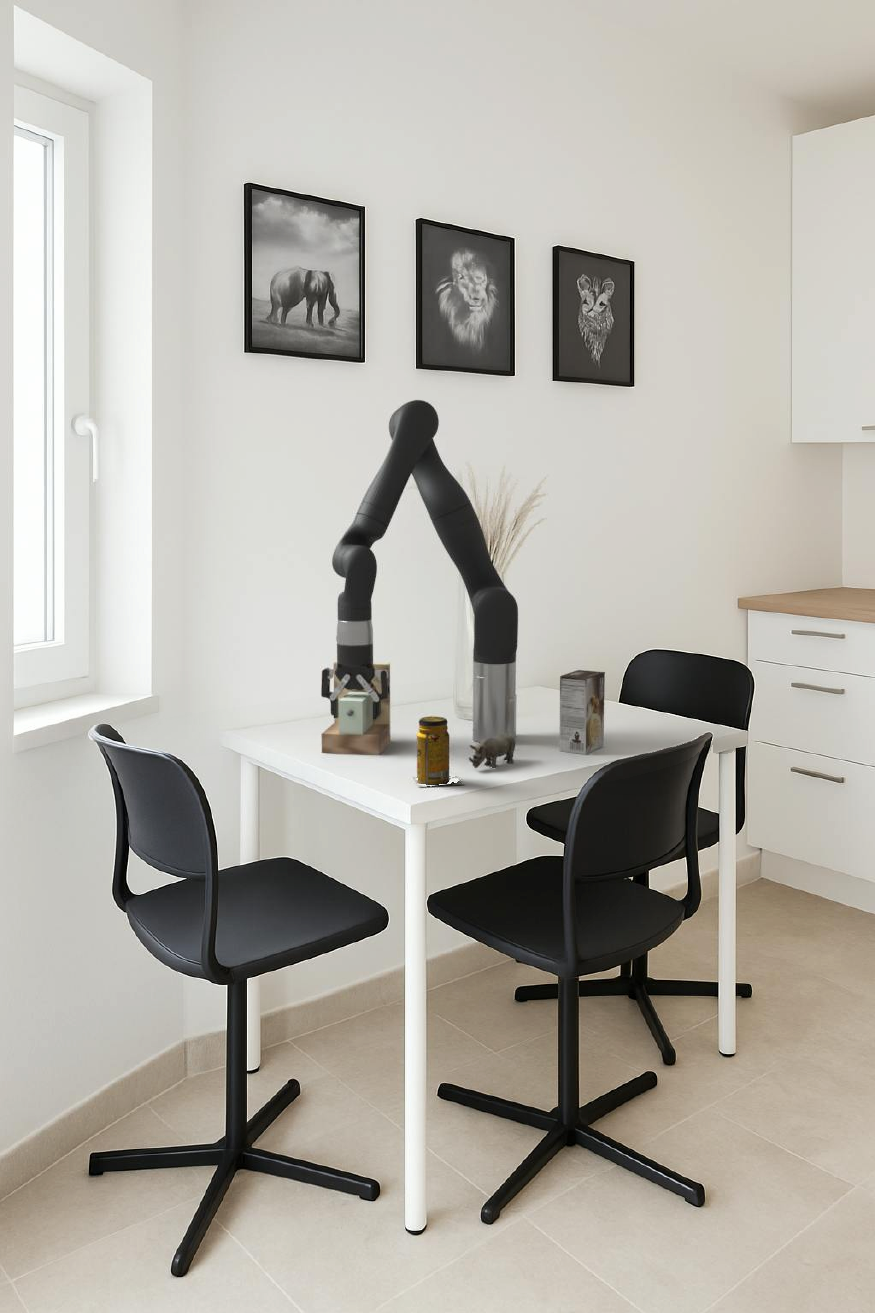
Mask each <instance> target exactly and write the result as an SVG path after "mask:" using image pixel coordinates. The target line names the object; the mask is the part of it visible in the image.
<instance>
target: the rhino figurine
mask: <svg viewBox="0 0 875 1313" xmlns="http://www.w3.org/2000/svg"><path fill="white" fill-rule="evenodd" d="M469 747H470V748H471V749H472V750H474V751H475V752H474V754H473V755H472V758H471V757H469V758H468V760H469V762H471V764H472V766H473V767H474V768H475V769H476V768H479V766H481V765H482V763H483V762H484V761H485V759H486V761H485V762H484V764H483V766H485V765H486V767H489V766H490V767H492V768H495V769H497V768H498V765H497V758H499V757H502V756H504V758H503V759H502V760H503V761H505V760H507V761H506V764H508V765H513V764H514V763H515V760H514V751H516V750H515V748H516V738H515V739H514V738H513V737H512V736H511V735H509V734H508V733H505V734H500V735H499V736H497V737H496V738H491V737H487V738H485V739H484V740H483V741H482V742H479V744H477V746H474V745H470V744H469ZM490 767H489V768H490ZM496 767H497V768H496ZM492 768H491V769H492Z"/></svg>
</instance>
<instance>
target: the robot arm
mask: <svg viewBox="0 0 875 1313" xmlns="http://www.w3.org/2000/svg"><path fill="white" fill-rule="evenodd" d="M439 423H440V420H439V415H438V413H437V410H436V409H435V407H434V406H433V405H432V404H431V403H429V401H428V402H427V401H425V400H423V399H422V400H421V399H414V400H411V401H407V402H406V403H404V404H403V405H401V406H400V407H399V408H397V409H396V410H395V411H394V412H393V413H392V414H391V416H390V418H389V422H388V431H389V436H390V438H391V445H390V447H389V450H388V452H387V454H386V457H385V459H383V460H384V461H383V463H382V465H380V468H379V469H378V471H377V473H376V475H375V476H374V478H373V480H372V481H371V484H370V485H369V487H368V488H367V490H366V492H365V494H364V496H363V498H362V500H361V503H360V505H359V507H358V509H357V512H356V514H355V516H354V519H353V522H352V523H351V524H350V526H349V527H348V528H347V529H346V531H345V532H344V534H343V535H342V537H341V539H339V542H338V543H337V545H336V546H335V549H334V551H333V554H332V559H331V564H332V565H331V566H332V568H333V571H334V573H336V575H338V576H339V577H340V578H341V577H342V578H345V581H344V590H343V591H342V592H341V593H339V594H338V597H337V625H336V635H335V636H336V637H335V639H336V640H335V641H336V662H337V668H336V669H334V668H330V667H326V668H324V669H322V670H321V688H320V689H321V690H320V692H321V693H320V696H321V697H322V698H326V699H328V700H329V701H330V715H331V716H333V719H334V718H338V717H339V706H338V700H339V699H338V696H339V695H340V693H341V692H342V691H343V690H344V688H346V689H347V690H353V689H356V690H363V689H365V690H366V691H367V693H368V694H370V696H371V697H372V699H373V700H374V702H373V719H377V718H378V717H379V716H380V714H381V700H383V699H387V698H388V697H389V696H390V697H391V687H390V688H389V671H388V670H387V669H384V670H375V669H374V667H373V663H374V629H373V622H372V619H373V618H372V617H373V616H372V608H373V607H372V599H373V598H372V596H373V593H374V591H375V590H374V589H375V585H376V584H375V583H376V579H377V575H378V574H377V573H378V564H377V558H376V555H375V553H374V551H372V549H371V548H372V546H373V545H374V544H375V542H377V541H379V540H381V539H382V538H383V537H384V536H385V534H386V533H387V530H388V527H389V526H390V523H391V522H392V519H393V517H394V514H395V512H396V509H397V507H398V505H399V503H400V499H401V497H402V495H403V493H404V490H405V488H406V486H407V483H408V481H409V479H410V477H411V475H412V477H413V479H414V482H415V484H416V487H417V490H418V492H419V495H420V497H421V500H422V501H423V504H424V506H425V509H426V511H427V513H428V515H429V516H428V517H429V519H430V521H431V523H432V525H433V527H434V529H435V531H436V534H437V536H438V538H439V540H440V541H441V544H442V546H443V547H444V549H445V551H446V553H447V555H448V556H449V558H450V559H451V561H452V562H453V564H454V566H455V567H456V568H457V571H458V572H459V574H460V576H461V578H462V580H463V584H464V586H465V589H466V592H467V594H468V598H469V601H470V604H471V608H472V611H473V615H474V616H473V618H474V619H473V620H474V623H473V624H474V625H473V626H474V631H473V632H474V633H473V634H474V636H473V650H472V651H473V652H472V653H473V654H472V655H473V656H472V659H473V660H472V664H473V666H472V667H473V668H472V670H473V671H472V674H473V675H472V739H473V741H476V742H479V743H481V742H482V741H483V740H484V739H485V738H487V737H491V738H496V737H497V736H499V735H500V734H505V733H508V734H509V735H511V736H512V737H513V738H514V739H515V740H516V737H517V694H516V692H517V689H516V686H517V683H516V682H517V677H516V675H517V650H518V639H519V638H518V634H519V608H518V603H517V600H516V598H515V597H514V596H513V594H512V593H511V592H510V591H509V590H508V588H507V586H506V585H505V583H504V582H503V580H502V578H501V577H500V575H499V573H498V571H497V570H496V567H495V565H494V564H493V561H492V559H491V556H490V553H489V549H488V545H487V542H486V538H485V534H484V531H483V527H482V524H481V523H480V521H479V516H478V515H477V513H476V511H475V508H474V506H473V504H472V502H471V500H470V498H469V496H468V494H467V493H466V491H465V490H464V488H463V486H462V485H461V484H460V483H459V482H458V480H457V479H456V478H455V477H454V475H453V474H452V473H451V472H450V471H449V469H448V468H447V466H446V465H445V463H444V461H443V460H442V458H441V456H440V454H439V451H438V448H437V446H436V443H435V440H434V437H435V436H436V434H437V432H438V429H439V425H440V424H439ZM334 674H335V675H336V677H337V678H338V680H339V681H340V683H339V684H338V686H337V687H336V688H335V690H334V689H333V692H332V691H331V679H334ZM375 675H376V676H377V677H378V680H380V681H381V688H382V693H381V694H380V693H379V692H378V691H377V689H376V687H375V685H374V684H373V683H372V679H373V678H374V676H375ZM370 685H371V686H370ZM367 687H368V688H367Z"/></svg>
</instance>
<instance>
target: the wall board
mask: <svg viewBox="0 0 875 1313" xmlns="http://www.w3.org/2000/svg"><path fill="white" fill-rule="evenodd" d="M373 667H374V669H375V670H384V669H387V670H388V671H389V688H390V689H391V663H388V662H387V663H385V662H383V663H381V662H373ZM336 668H337V661H335V662H333V669H336ZM339 683H340V681H339V680H338V678H337V677H336V675H335V674H334V675H333V691H334V690H335V688H336V687H337V686H338V684H339ZM372 683H373V684H374V685H375V687H376V689H377V691H378V692H379V693H380V694H381V693H382V688H381V681H380V680H378V677H377V676H376V675H375V676H374V678H373V679H372ZM370 686H371V685H370ZM367 688H368V687H367ZM349 692H367V691H366V690H365V689H363V690H356V689H353V690H347V689H346V688H344V690H343V691H342V692H341V693H340V695H339V696H338V699H339V700H340V699H341V698H342V697H344V696H345V695H346V694H347V693H349ZM373 702H374V700H373ZM333 719H334V722H333V724H334V723H339V717H338V718H334V717H333ZM373 724H389V743H390V742H391V695H390V696H389V697H388V698H387V699H383V700H381V714H380V716H379V717H378V718H377V719H373Z"/></svg>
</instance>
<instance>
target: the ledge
mask: <svg viewBox="0 0 875 1313" xmlns="http://www.w3.org/2000/svg"><path fill="white" fill-rule="evenodd" d="M389 743H390V742H389V724H373V725H372V726H371V727H370V728H369V729H368V730H367V731H366V732H365V733H364V734H363V735H358V734H339V723H334V722H333V723H332V724H331V725H330V726H329V727H327V728H326V729H325V730H324V731H323V732H321V753H323V754H345V755H346V754H348V755H349V754H350V755H372V756H373V755H375V756H377V755H378V756H379V755H380V754H381V753H383V750H384V749H385V748H386V747H387V746H388V745H389Z"/></svg>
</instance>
